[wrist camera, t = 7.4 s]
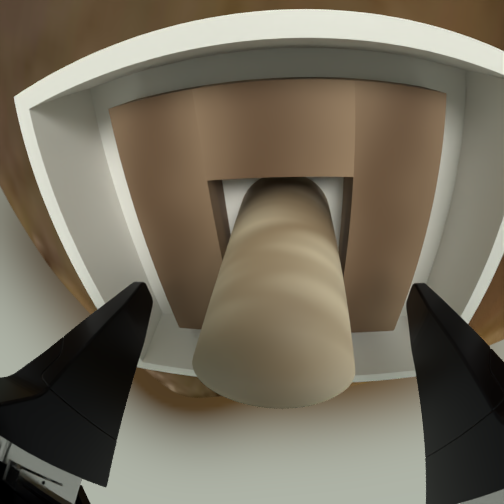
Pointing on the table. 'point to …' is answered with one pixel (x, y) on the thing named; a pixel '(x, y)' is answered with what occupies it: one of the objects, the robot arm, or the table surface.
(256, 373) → the peg
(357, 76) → the open box
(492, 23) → the table surface
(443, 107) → the bore plate
